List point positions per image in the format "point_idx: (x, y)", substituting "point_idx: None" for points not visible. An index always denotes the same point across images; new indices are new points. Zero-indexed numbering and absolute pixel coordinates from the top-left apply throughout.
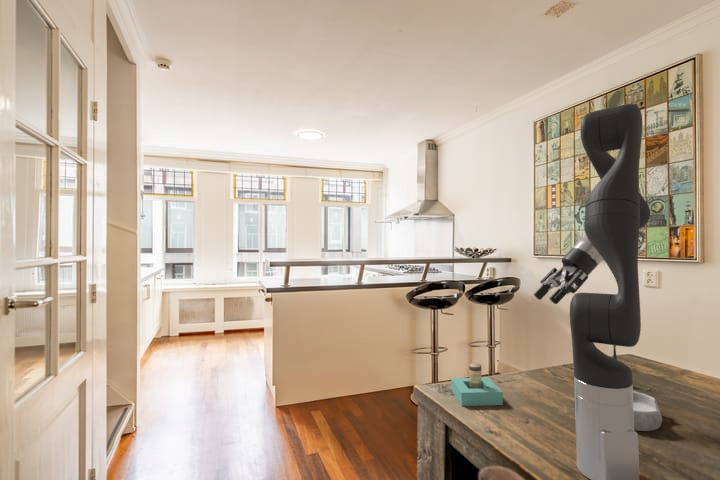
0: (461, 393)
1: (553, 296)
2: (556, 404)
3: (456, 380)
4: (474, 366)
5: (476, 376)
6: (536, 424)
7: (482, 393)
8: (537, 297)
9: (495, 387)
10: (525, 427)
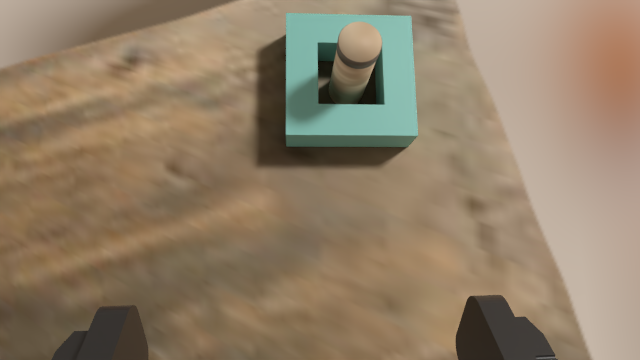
0: (286, 14)
1: (89, 344)
2: (280, 309)
3: (390, 26)
4: (344, 34)
5: (335, 55)
6: (156, 187)
7: (286, 75)
8: (463, 321)
9: (323, 126)
10: (143, 151)
